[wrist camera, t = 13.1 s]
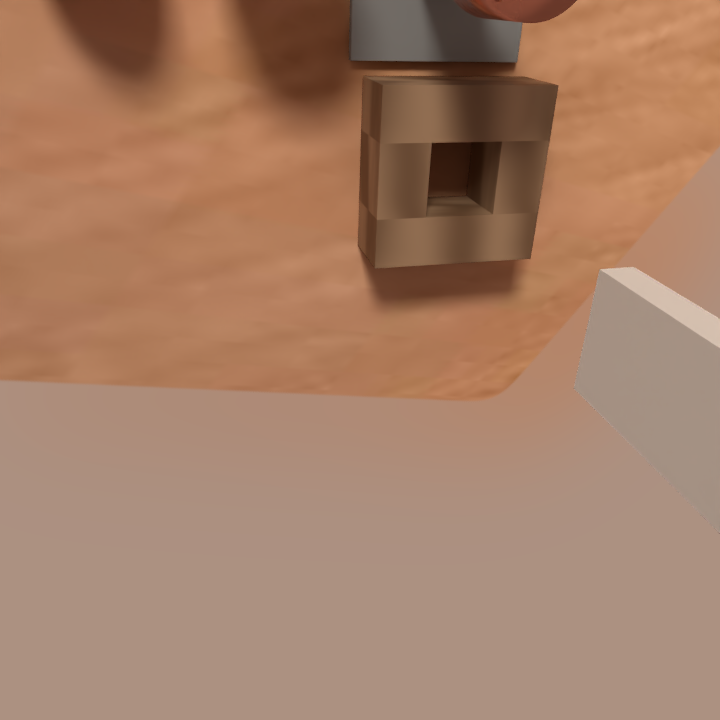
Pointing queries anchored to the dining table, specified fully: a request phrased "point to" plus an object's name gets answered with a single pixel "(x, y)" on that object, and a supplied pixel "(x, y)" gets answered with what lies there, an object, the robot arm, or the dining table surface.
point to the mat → (428, 33)
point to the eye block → (486, 171)
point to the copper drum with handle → (515, 9)
